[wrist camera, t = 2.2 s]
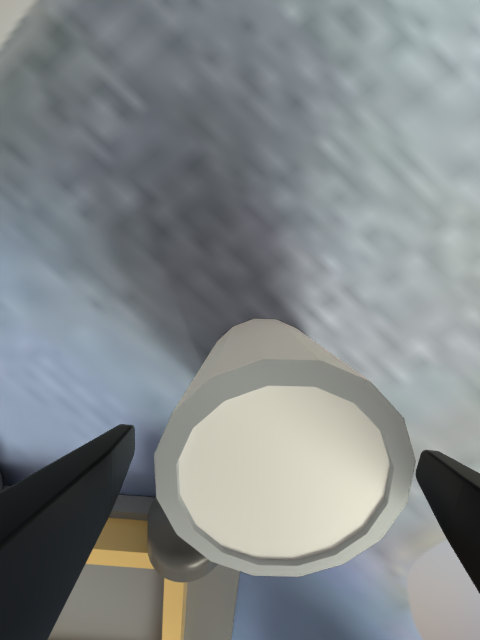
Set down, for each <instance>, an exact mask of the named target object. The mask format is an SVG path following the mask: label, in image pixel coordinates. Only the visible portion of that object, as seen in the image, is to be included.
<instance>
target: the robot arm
mask: <svg viewBox="0 0 480 640" xmlns="http://www.w3.org/2000/svg"><path fill="white" fill-rule="evenodd" d="M134 450H135V428H134V426H133V425H125V424H120V425H118V426H116V427H114V428H113V429H111V430H109V431H107V432H106V433H104V434H102V435H100V436H99V437H97V438H95V439H93V440H92V441H90V442H88V443H86V444H85V445H83V446H81V447H79V448H78V449H76V450H74V451H72V452H70V453H69V454H67V455H65V456H63V457H62V458H60V459H58V460H56V461H55V462H53V463H51V464H49V465H48V466H46V467H44V468H42V469H41V470H39V471H37V472H35V473H34V474H32V475H30V476H28V477H26V478H25V479H23V480H21V481H19V482H18V483H16V484H14V485H12V486H11V487H9V488H7V489H5V490H4V491H2V492H0V640H48V638H49V636H50V634H51V632H52V630H53V628H54V626H55V624H56V622H57V620H58V618H59V616H60V614H61V612H62V610H63V608H64V606H65V604H66V602H67V600H68V598H69V596H70V594H71V592H72V590H73V588H74V586H75V584H76V582H77V580H78V578H79V576H80V574H81V572H82V570H83V568H84V566H85V564H86V562H87V560H88V558H89V556H90V554H91V552H92V550H93V548H94V546H95V544H96V542H97V540H98V538H99V536H100V534H101V532H102V530H103V528H104V526H105V524H106V522H107V520H108V518H109V516H110V514H111V512H112V509H113V507H114V505H115V502H116V500H117V497H118V494H119V492H120V489H121V487H122V484H123V481H124V479H125V476H126V474H127V471H128V469H129V466H130V463H131V461H132V458H133V455H134ZM416 478H417V481H418V483H419V485H420V487H421V489H422V491H423V493H424V495H425V497H426V499H427V501H428V503H429V505H430V507H431V509H432V511H433V513H434V515H435V517H436V519H437V521H438V523H439V525H440V527H441V529H442V531H443V533H444V534H445V536H446V538H447V540H448V541H449V543H450V545H451V547H452V548H453V550H454V552H455V553H456V554H457V557H458V558H459V560H460V562H461V563H462V565H463V567H464V568H465V570H466V572H467V573H468V575H469V577H470V578H471V580H472V581H473V583H474V585H475V586H476V588H477V590H478V591H479V593H480V473H478V472H476V471H474V470H472V469H470V468H469V467H467V466H465V465H463V464H461V463H459V462H457V461H456V460H454V459H452V458H450V457H448V456H446V455H444V454H443V453H441V452H439V451H432V450H424V451H423V452H422V453H421V455H420V459H419V462H418V465H417V469H416Z"/></svg>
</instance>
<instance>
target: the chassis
mask: <svg viewBox="0 0 480 640" xmlns="http://www.w3.org/2000/svg"><path fill="white" fill-rule="evenodd" d="M9 487H11V486H5V485H2V480H1V473H0V492H2V491H4V490H5V489H7V488H9ZM239 574H240V571H238V570H235V569H232V568H229V567H226V566H223V565H220V564H217V563H214V562H211V561H210V560H209V559H207V558H206V557H205V556H203V555H202V554H201V553H200V552H198V551H197V550H196V549H195V548H193V547H192V546H191V545H189V544H188V543H187V542H186V541H184V540H183V539H182V538H181V537H179V536H178V535H177V534H176V532H175V530H174V529H173V527H172V525H171V523H170V521H169V520H168V518H167V516H166V514H165V512H164V511H163V509H162V507H161V505H160V503H159V502H158V500H157V498H156V497H142V496H130V495H118V497H117V500H116V502H115V505H114V507H113V509H112V512H111V514H110V516H109V518H108V520H107V522H106V524H105V526H104V528H103V530H102V532H101V534H100V536H99V538H98V540H97V542H96V544H95V546H94V548H93V550H92V552H91V554H90V556H89V558H88V560H87V562H86V564H85V566H84V568H83V570H82V572H81V574H80V576H79V578H78V580H77V582H76V584H75V586H74V588H73V590H72V592H71V594H70V596H69V598H68V600H67V602H66V604H65V606H64V608H63V610H62V612H61V614H60V616H59V618H58V620H57V622H56V624H55V626H54V628H53V630H52V632H51V634H50V636H49V638H48V640H231V637H232V629H233V622H234V614H235V606H236V598H237V590H238V582H239Z"/></svg>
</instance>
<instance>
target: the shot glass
mask: <svg viewBox="0 0 480 640" xmlns="http://www.w3.org/2000/svg"><path fill="white" fill-rule="evenodd" d="M415 463H416V460H415V457H414V453H413V449H412V446H411V442H410V438H409V435H408V431H407V428H406V424H405V420H404V418H403V417H402V415H401V414H400V413H399V412H398V411H397V410H396V409H395V408H394V407H393V406H392V404H391V403H390V402H389V401H388V400H387V399H386V398H385V397H384V396H383V395H382V394H381V392H380V391H379V390H378V389H377V388H376V387H375V386H374V385H373V384H372V383H371V382H370V381H369V380H368V379H366V378H365V377H363V376H362V375H361V374H359V373H358V372H356V371H355V370H354V369H352V368H351V367H350V366H348V365H347V364H345V363H344V362H343V361H341V360H340V359H338V358H337V357H336V356H334V355H333V354H331V353H330V352H329V351H327V350H326V349H324V348H323V347H322V346H320V345H319V344H318V343H316V342H315V341H313V340H312V339H311V338H309V337H308V336H306V335H305V334H304V333H302V332H301V331H299V330H298V329H297V328H295V327H293V326H290V325H288V324H286V323H283V322H281V321H279V320H277V319H252V320H249V321H246V322H244V323H241V324H238V325H236V326H233V327H232V328H231V329H230V330H229V331H228V332H227V333H225V334H224V335H223V336H222V337H221V338H220V339H219V340H218V341H217V342H216V344H215V346H214V347H213V349H212V350H211V352H210V353H209V355H208V357H207V358H206V360H205V361H204V363H203V365H202V366H201V368H200V369H199V371H198V372H197V374H196V376H195V377H194V379H193V380H192V382H191V384H190V385H189V387H188V388H187V390H186V392H185V393H184V395H183V396H182V398H181V399H180V401H179V403H178V404H177V406H176V407H175V409H174V411H173V412H172V414H171V417H170V419H169V421H168V424H167V426H166V428H165V431H164V433H163V435H162V438H161V440H160V442H159V444H158V447H157V449H156V451H155V454H154V466H155V483H156V498H157V500H158V502H159V503H160V505H161V507H162V509H163V511H164V512H165V514H166V516H167V518H168V520H169V521H170V523H171V525H172V527H173V529H174V530H175V532H176V534H177V535H178V536H179V537H181V538H182V539H183V540H184V541H186V542H187V543H188V544H189V545H191V546H192V547H193V548H195V549H196V550H197V551H198V552H200V553H201V554H202V555H203V556H205V557H206V558H207V559H209V560H210V561H211V562H214V563H217V564H220V565H223V566H226V567H229V568H232V569H235V570H238V571H241V572H244V573H247V574H250V575H253V576H290V577H300V576H303V575H307V574H311V573H314V572H318V571H321V570H325V569H328V568H332V567H336V566H339V565H343V564H345V563H346V562H348V561H349V560H351V559H352V558H354V557H355V556H357V555H358V554H360V553H361V552H363V551H364V550H366V549H367V548H369V547H370V546H372V545H373V544H375V543H376V542H378V541H379V540H381V539H382V537H383V536H384V535H385V533H386V532H387V530H388V529H389V528H390V526H391V525H392V524H393V522H394V521H395V519H396V518H397V517H398V515H399V514H400V513H401V511H402V510H403V508H404V507H405V506H406V504H407V501H408V496H409V491H410V487H411V482H412V477H413V472H414V467H415Z"/></svg>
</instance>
